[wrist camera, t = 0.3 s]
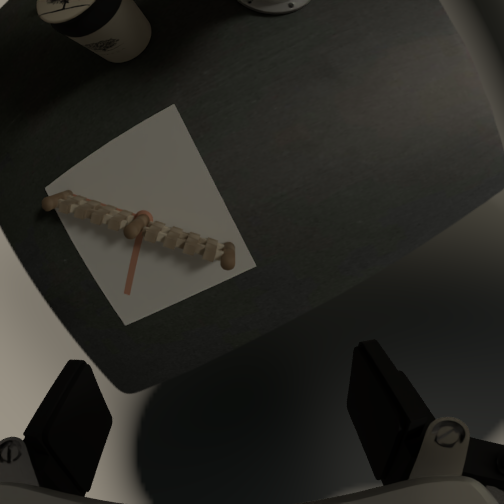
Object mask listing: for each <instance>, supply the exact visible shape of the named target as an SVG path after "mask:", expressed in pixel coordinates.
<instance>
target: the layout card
mask: <svg viewBox="0 0 504 504" xmlns="http://www.w3.org/2000/svg"><path fill="white" fill-rule="evenodd" d="M45 190H46V192H47V194H48V196H51V195H54V194H57V193H60V192H63V191H66V190H71V191H72V192H73V196H74V197H75V196H77V195H80V196H83V197H86V201H91V200H96V201H99V202H101V205H102V206H106V205H112V206H115V207H117V209H116V210H117V211H120V212H121V211H122V210H127V211H130V212H133V214H132V215H133V216H134V219H135V218H137V217H138V216H139V215H141V214H146V215H148V217H149V219H150V221H152V222H155V221H159V222H162V223H165V226H167V227H170V228H172V227H173V226H175V227H178V228H181V229H183V232H186V233H189V234H190V232H193V233H196V234H200V237H202V238H205V239H208V237H209V238H212V239H215V240H218V243H220V244H224V243H226V242H231V243H233V244H234V246H235V267H234V268H233V269H232V270H224V269H223V268H222V267H221V265H220V261H219V260H216V259H214V261H213V262H211V261H208V260H204V259H202V257H203V255H200V254H197V253H194V256H192V255H189V254H186V253H182V252H183V249H181V248H178V247H175V248H174V250H173V249H170V248H167V247H164V246H163V244H164V243H162V242H159V241H156V242H155V243H151V242H148V241H145V240H144V236H141V235H142V231H143V230H142V231H141V232H140V233H139V234H138V235H137V236H136V237H135V238H134V239H127V238H126V237H125V236H124V233H123V230H122V229H119V230H118V231H115V230H112V229H109V228H107V227H108V225H107V224H104V223H103V224H101V225H97V224H94V223H91V222H90V220H91V219H89V218H85V219H83V220H82V219H79V218H76V217H74V213H68V214H64V213H62V212H59V211H58V210H59V208H55V210H56V212H57V214H58V216H59V218H60V220H61V221H62V223H63V225H64V227H65V229H66V231H67V233H68V234H69V236H70V238H71V240H72V242H73V243H74V245H75V247H76V249H77V250H78V252H79V254H80V256H81V257H82V259H83V261H84V262H85V264H86V266H87V267H88V269H89V271H90V272H91V274H92V276H93V277H94V279H95V280H96V282H97V284H98V285H99V287H100V288H101V290H102V291H103V293H104V295H105V296H106V298H107V299H108V301H109V302H110V304H111V305H112V307H113V308H114V310H115V311H116V313H117V314H118V316H119V317H120V318H121V320H122V321H123V323H124V324H125V326H126V325H128V324H130V323H132V322H135V321H137V320H139V319H141V318H144V317H146V316H148V315H150V314H153V313H155V312H157V311H159V310H161V309H164V308H166V307H168V306H170V305H173V304H175V303H177V302H179V301H181V300H184V299H186V298H188V297H190V296H192V295H195V294H197V293H199V292H201V291H203V290H206V289H208V288H210V287H212V286H214V285H217V284H219V283H221V282H223V281H225V280H227V279H230V278H232V277H234V276H236V275H238V274H240V273H243V272H245V271H247V270H249V269H251V268H253V267H256V264H255V262H254V260H253V258H252V256H251V255H250V253H249V251H248V249H247V247H246V245H245V243H244V241H243V239H242V237H241V235H240V233H239V231H238V229H237V227H236V225H235V223H234V221H233V219H232V217H231V215H230V213H229V211H228V209H227V207H226V205H225V203H224V201H223V199H222V197H221V195H220V193H219V192H218V190H217V188H216V186H215V184H214V182H213V180H212V178H211V176H210V174H209V172H208V170H207V168H206V166H205V164H204V162H203V160H202V158H201V156H200V154H199V152H198V150H197V148H196V146H195V144H194V142H193V140H192V138H191V136H190V134H189V132H188V130H187V128H186V126H185V124H184V122H183V120H182V118H181V116H180V114H179V112H178V110H177V108H176V107H175V105H174V104H173V105H171V106H170V107H168V108H166V109H164V110H162V111H160V112H159V113H157V114H155V115H153V116H152V117H150V118H148V119H146V120H145V121H143V122H141V123H140V124H138V125H136V126H134V127H133V128H131V129H130V130H128V131H126V132H125V133H123V134H121V135H120V136H118V137H117V138H115V139H113V140H112V141H110V142H109V143H107V144H106V145H104V146H103V147H101V148H100V149H98V150H97V151H95V152H94V153H92V154H91V155H89V156H88V157H86V158H85V159H84V160H82V161H81V162H79V163H78V164H76V165H75V166H74V167H72V168H71V169H70V170H68V171H67V172H65V173H64V174H63V175H61V176H60V177H59V178H57V179H56V180H55V181H54V182H52V183H51V184H50V185H48V186H47V187H46V188H45ZM127 225H128V224H127ZM146 227H148V225H147V226H146Z"/></svg>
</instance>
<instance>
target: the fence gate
mask: <svg viewBox="0 0 504 504" xmlns="http://www.w3.org/2000/svg"><path fill="white" fill-rule="evenodd" d="M141 236H144V240H145V241H148V242H151V243H155V242H156V241H159V242H162V243H164V244H163V246H164V247H167V248H170V249H173V250H174V248H175V247H178V248H181V249H183V252H182V253H186V254H189V255H192V256H194V253H197V254H200V255H203V257H202V259H204V260H208V261H211V262H213V261H214V259H216V260H219V261H220V265H221V267H222V268H223V269H224V270H232V269H233V268H234V267H235V246H234V244H233V243H231V242H226V243H224V244H220V243H218V240H215V239H212V238H209V237H208V239H205V238H202V237H200V234H196V233H193V232H190V234H189V233H186V232H183V229H181V228H178V227H175V226H173V227H172V228H170V227H167V226H165V223H162V222H159V221H155V222H152V221H150V222H149V224H148V227H146V226H145V227H144V228H143V231H142V235H141Z"/></svg>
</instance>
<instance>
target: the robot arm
mask: <svg viewBox="0 0 504 504" xmlns="http://www.w3.org/2000/svg"><path fill="white" fill-rule="evenodd" d="M237 1H238V2H239V3H241V4H242V5H243V6H245V7H247V8H249V9H251V10H254V11H257V12H260V13H265V14H275V15H279V14H287V13H291V12H295V11H297V10H299V9H301V8H303V7H304V6H306V5H307V4H308V3H309V2H310V1H311V0H237ZM248 2H251V3H250V4H249V3H248ZM289 7H291V8H289ZM347 409H348V412H349V414H350V417H351V419H352V422H353V424H354V426H355V429H356V431H357V433H358V436H359V439H360V441H361V443H362V446H363V448H364V451H365V453H366V455H367V458H368V461H369V463H370V466H371V468H372V471H373V473H374V476H375V478H376V479H377V480H380V479H381V481H382V483H383V485H384V486H381V487H376V488H372V489H369V490H365V491H360V492H356V493H352V494H347V495H342V496H337V497H332V498H327V499H321V500H316V501H310V502H304V503H297V504H504V445H501V444H496V443H492V442H488V441H484V440H479V439H475V438H471V437H470V431H469V429H468V427H467V426H466V424H465V423H464V422H462V421H461V420H459V419H456V418H453V417H443V418H438V419H435V418H434V416H433V415H432V413H431V412H430V410H429V409H428V407H427V406H426V404H425V403H424V401H423V400H422V398H421V397H420V395H419V394H418V393H417V391H416V390H415V388H414V387H413V386H412V384H411V382H410V381H409V380H408V378H407V377H406V375H405V374H404V373H403V372H402V371H398V370H397V369H396V367H395V366H394V364H393V363H392V361H391V360H390V359H389V357H388V356H387V354H386V353H385V351H384V350H383V349H382V347H381V346H380V344H379V343H378V342H377V340H375V339H374V340H369V341H363V342H360V343H359V345H358V347H355V348H354V352H353V361H352V369H351V376H350V384H349V391H348V398H347ZM111 426H112V416H111V414H110V411H109V409H108V407H107V405H106V403H105V400H104V398H103V396H102V393H101V391H100V389H99V386H98V384H97V382H96V379H95V377H94V374H93V371H92V369H91V367H90V365H89V364H87V363H86V362H85V361H84V360H69V361H68V362H67V364H66V365H65V367H64V368H63V370H62V371H61V373H60V374H59V376H58V378H57V379H56V380H55V382H54V384H53V385H52V387H51V388H50V390H49V391H48V393H47V395H46V397H45V398H44V400H43V401H42V403H41V404H40V406H39V408H38V409H37V411H36V413H35V414H34V416H33V418H32V419H31V421H30V423H29V424H28V426H27V428H26V430H25V432H24V433H23V435H24V436H25V438H24V440H21V439H20V438H17V437H9V438H5V439H3V440H2V441H0V504H122V503H114V502H109V501H103V500H97V499H92V498H87V497H85V493H86V492H89V490H90V488H91V485H92V482H93V479H94V476H95V473H96V469H97V466H98V463H99V460H100V457H101V454H102V452H103V449H104V446H105V443H106V440H107V437H108V434H109V431H110V429H111Z"/></svg>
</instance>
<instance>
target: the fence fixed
mask: <svg viewBox="0 0 504 504" xmlns="http://www.w3.org/2000/svg"><path fill="white" fill-rule="evenodd" d="M42 207H43V209H44V210H45V211H50V210H52V209H54V208H59V210H58V211H59V212H62V213H64V214H68V213H74V217H76V218H79V219H82V220H83V219H85V218H89V219H91V220H90V222H91V223H94V224H97V225H101V224H103V223H104V224H107V225H108V227H107V228H109V229H112V230H115V231H118V230H119V229H122V230H123V233H124V236H125V237H126V238H127V239H134V238H135V237H136V236H137V235H138V234H139V233H140V232H141V231H142V230H143V228H144V227H145V226H147V225H148V224H149V222H150V219H149V217H148V215H146V214H141V215H139V216H138V217H137V218H135V219H134V216H133V215H132V214H133V212H130V211H127V210H122V211H121V212H120V211H117V210H116V209H117V207H115V206H112V205H106V206H102V205H101V202H99V201H96V200H91V201H86V197H83V196H80V195H77V196H75V197H74V196H73V192H72V191H71V190H66V191H63V192H60V193H57V194H54V195H51V196H49V197H46V198H44V199H43V200H42ZM127 224H128V225H127Z"/></svg>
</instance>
